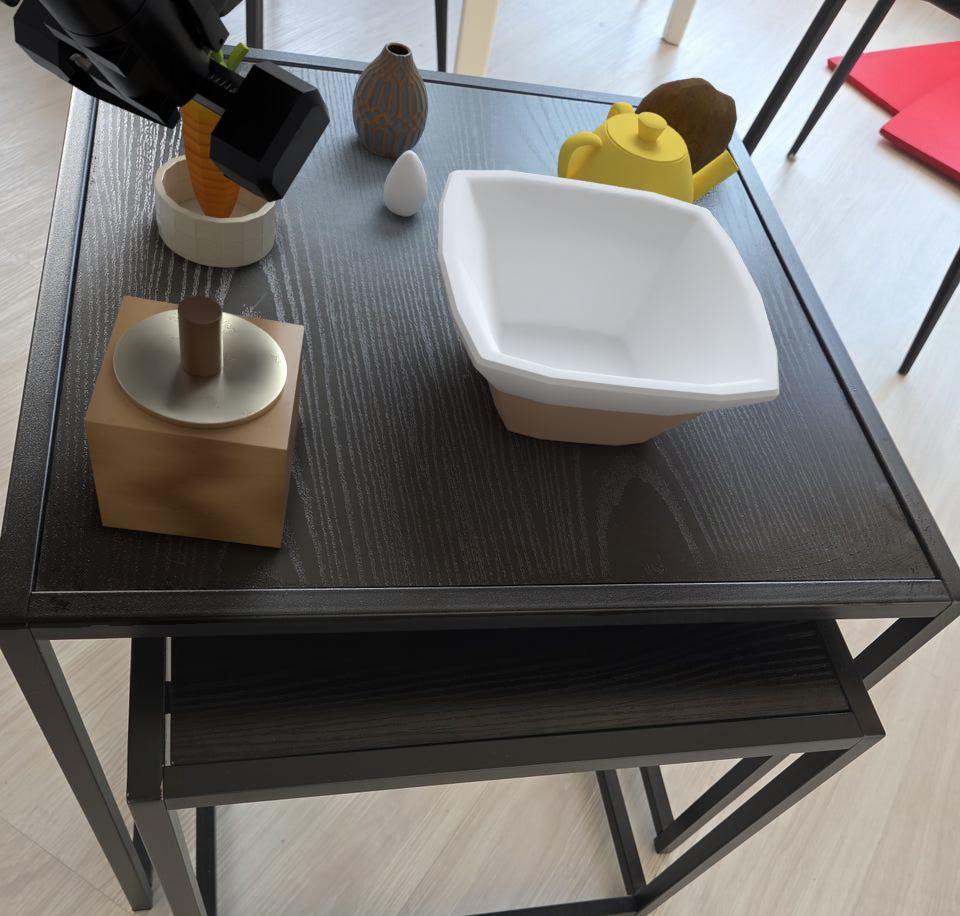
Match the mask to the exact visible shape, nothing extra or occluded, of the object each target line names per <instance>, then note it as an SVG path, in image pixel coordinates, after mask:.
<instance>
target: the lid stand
mask: <svg viewBox="0 0 960 916" xmlns="http://www.w3.org/2000/svg"><path fill="white" fill-rule="evenodd" d="M178 305H179V303H178V304H177V303H171V302H166V301H159V300H154V299H148V298H142V297H136V296H131V295H125V294H124V295H123V297H122V300H121V303H120V306H119V309H118V312H117V316H116V318H115V322H114V325H113V329H112V331H111V335H110V337H109V341H108V344H107V347H106V350H105V353H104V356H103V359H102V363H101V365H100V369H99V372H98V375H97V379H96V381H95V385H94V387H93V391H92V393H91V397H90V400H89V404H88V406H87V410H86V413H85V416H84V419H83V424H84V430H85V436H86V440H87V441H86V442H87V447H88V452H89V458H90V464H91V469H92V474H93V475H92V476H93V479H94V486H95V492H96V496H97V502H98V508H99V509H98V510H99V513H100V520H101V525H102V527H109V528H117V529H122V530H123V529H124V530H131V531H132V530H133V531H140V532H148V533H157V534H165V535H172V536H178V537H179V536H181V537H189V538H197V539H205V540H211V541H212V540H213V541H221V542H230V543H237V544H243V545H244V544H245V545H250V546H251V545H252V546H259V547H268V548H269V547H270V548H276V549H281V547H282V541H283V536H284V535H283V533H284V527H285V519H286V513H287V506H288V499H289V498H288V497H289V491H290V484H291V476H292V469H293V468H292V467H293V463H294V462H293V461H294V455H295V448H296V440H297V434H298V425H299V424H298V422H299V410H300V396H301V382H302V371H303V359H304V358H303V356H304V355H303V354H304V344H305V343H304V340H305V329H306V326H305V325H302V324H296V323H291V322H284V321H278V320H271V319H266V318H261V317H255V316H248V315H242V314H237V313H231V312H225V311H223V312H224V313H228V314H231V315H234V316H237V317H240V318H242V319H245V320H247V321H249V322H250V323H252V324H254V325H256V326H257V327H259V328H260V329H262V330H263V331H264V332H266V333H267V334H268V335H269V336H270V337H271V338H272V339H273V340H274V341H275V342H276V344H277V345H278V346H279V348H280V349H281V351H282V353H283V355H284V358H285V361H286V366H287V380H286V385H285V389H284V391H283V394H282V396H281V397H280V399H279V400H278V401H277V403H276V404H275V405H274V406H273V407H272V408H271V409H270V410H269V411H267V412H266V413H264V414H263V415H261V416H260V417H258V418H256V419H254V420H252V421H249V422H247V423H244V424H240V425H237V426H233V427H227V428H218V429H197V428H188V427H183V426H177V425H174V424H171V423H167V422H164V421H162V420H159V419H157V418H155V417H153V416H151V415H149V414H147V413H145V412H144V411H142V410H141V409H139V408H138V407H137V406H135V405H134V404H133V403H132V402H131V401H130V400H129V399H128V398H127V397H126V396H125V394H124V393H123V392H122V390H121V389H120V387H119V385H118V383H117V380H116V378H115V373H114V367H113V356H114V351H115V348H116V346H117V344H118V342H119V340H120V339H121V337H122V336H123V335H124V334H125V332H126V331H127V330H128V329H130V328H131V327H132V326H133V325H135V324H136V323H138V322H140V321H141V320H143V319H145V318H147V317H150V316H152V315H155V314H158V313H161V312H166V311H170V310H178V309H177V308H178Z"/></svg>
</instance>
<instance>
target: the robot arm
mask: <svg viewBox="0 0 960 916" xmlns="http://www.w3.org/2000/svg"><path fill="white" fill-rule="evenodd" d="M243 1H244V0H0V3H2V4H4V5H5V6H7V7H9V8H15V7H18V8H17V10H16V11H15V13H14V15H12V16H13V17H12V18H13V31H14V42H15V44H16V45H18V47H20V48H21V50H23V52H24V53H25V54H26V55H27V56H28V57H29V58H30V59H31V60H32V61H33V63H36V65H38V66H40V67H41V68H43V69H45V70H47V71H49V72H50V73H52V74H54V75H55V76H56V77H58V78H59V79H60V80H62V81H63V82H65V83H67V84H70V86H72V87H74V88H76V89H77V90H79V91H81V92H82V93H84V94H85V95H87V96H89V97H91V98H92V97H93V98H94V99H97V100H100V101H102V102H104V103H106V104H109V105H111V106H114V107H116V108H118V109H121V110H123V111H126V112H129V113H131V114H133V115H135V116H138V117H140V118H143V119H145V120H147V121H150V122H152V123H154V124H156V125H159V126H162V127H164V128H167V129H169V130H174V129H175V128H176V126H177V125H178V123H179V121H180V120H181V118H182V114H181V112H180V111H179V109H178V108H181V107H183V106H184V105H186V104H187V103H188V102H189V101H191V100H193V101H195V102H197V103H198V104H200V105H202V106H203V107H205V108H207V109H209V110H210V111H212V112H214V113H215V114H217V115H219V116H221V118H220V120H219V121H218V123H217V125H216V126H215V128H214V129H213V131H212V133H211V138H210V154H209V158H210V159H211V160H212V162H213V163H214V164H215V165H216V167H217V168H218V169H220V170H221V171H222V172H223V173H224V174H223V175H224V177H226V178H228V179H229V180H231V181H233V182H234V183H236V184H238V185H239V186H241V187H243V188H244V189H246V190H248V191H249V192H251V193H253V194H254V195H256V196H259V197H261V198H262V199H264V200H266V201H267V202H269V203H270V202H273V201H277V202H278V201H280V200H282V199H284V197H285V196H286V194H287V192H288V191H289V189H290V187H291V185H292V184H293V183H294V181H295V180H296V178H297V176H298V175H299V173H300V172H301V170H302V168H303V167H304V165H305V163H306V162H307V160H308V158H309V156H310V155H311V154H312V152H313V151H314V149H315V147H316V145H317V143H318V142H319V141H320V139H321V138H322V135H323V134H324V132H325V131H326V129H327V128H328V126H329V124H330V122H331V117H330V112H329V108H328V106H327V104H326V101H325V100H324V99H323V96H322V95H321V92H320V91H319V89H318V87H317V86H314V85H313V84H311V83H309V82H308V81H305V79H303V78H300V77H299V76H297V75H295V74H293V73H292V72H290V71H288V70H287V69H284V68H283V67H281V66H280V65H277V64H276V63H274V62H272V61H271V60H264V61H261V62H256V63H252V66H251V68H250V69H249V70H248V72H247V73H246V76H245V77H244V76H242V75H241V74H239V73H237V72H236V71H235V72H234V71H232V70H230V69H228V68H227V67H225V66H223V65H222V64H220V63H218V62H216V61H215V60H214V58H212V57H211V58H212V59H211V58H209V57H208V54H209V53H210V54H211V52H212V51H214V52H216V53H218V52H219V51H220V50H222V48H223V46H224V45H225V43H226V41H228V38H229V37H230V35H231V34H230V32H229V30H228V29H227V27H226V26H225V24H224V23H223V21H222V19H221V18H224V17H226V16H228V14H230V13H231V12H232V11H233V10H234V9H235V8H237V6H239V4H241V3H242V2H243ZM20 2H21V3H20ZM19 4H20V5H19ZM211 50H212V51H211ZM208 78H209V79H208ZM219 84H220V85H219Z"/></svg>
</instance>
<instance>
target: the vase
mask: <svg viewBox="0 0 960 916" xmlns="http://www.w3.org/2000/svg"><path fill="white" fill-rule="evenodd" d="M351 113H352V122H353V126H354V129H355V133H356V134H357V136H358V139H359V140H360V141H361V143H362V144H363V145H364V147H365V148H366V149H367V150H368V151H369V152H371V153H373V154H375V155H377V156H379V157H383V158H388V159H389V158H390V159H392V158H399V157H400V156H401V155H402V154H403V153H404V152H406V151H409V150H410V151H412V150H413V149H414V148H415V147H416V146H417V144H418V143H419V142H420V139H421V138H422V136H423V134H424V131H425V129H426V125H427V120H428V115H429V114H428V113H429V97H428V92H427V87H426V84H425V82H424V79H423V76H422V75H421V73H420V71H419V69H418V67H417V64H416V63H415V60H414V56H413V52H412V49H411V48H410V47H409V46H407V45H405V44H403V43H401V42H398V41H397V42H396V41H392V42H388V43H386V44H384V46H383V48H382V49H381V52H379V54H378V55H377V56H376V57H375V58H374V59H373V60H372V61H370V62H369V64H367V65H366V66H365V68H364V69H363V71H362V72H361V73H360V75H359V77H358V79H357V82H356V85H355V86H354V91H353V94H352V105H351Z"/></svg>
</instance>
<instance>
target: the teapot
mask: <svg viewBox="0 0 960 916" xmlns="http://www.w3.org/2000/svg"><path fill="white" fill-rule="evenodd" d="M739 170H740V169H739V167H738V166H737V164H736V162H735V160H734V158H733V157H732V155H731V154H730V152H729V151H728V150H727V149H726V150H725V152H724V153H722V154H721V155H720V156H718V157H717V158H716V159H714V160H713V161H712V162H710V163H709V164H708V165H706V166H705V167H704V168H702V169H701V170H700V171H698V172H697V173H695V174H692V169H691V163H690V157H689V153H688V150H687V146H686V144H685V142H684V140H683V139H682V137H681V136H680V135H679V134H678V133H677V132H676V131H675V130H674V129H672V128H671V127H670V126H668V125H667V122H666V121H665V120H664V119H663V118H662V117H661V116H659V115H657V114H655V113H651V112H643V113H640V114H635V108H634V106H633V105H632V104H630V103H628V102H626V101H617V102H615V103H613V104H612V105H611V107H610V108H609V111H608V113H607V115H606V119H605V121H603V122H602V123H600V125H598V126H597V127H596V128H595V129H594V130H592V131H586V130H585V131H584V130H583V131H579V132H576V133H573V134H572V135H570V136H569V137H567V138H566V139H565V140H564V141H563V143H562V145H561V147H560V149H559V152H558V157H557V176H556V177H560V178H566V179H573V180H580V181H587V182H593V183H599V184H605V185H611V186H617V187H623V188H629V189H635V190H642V191H648V192H654V193H657V194H660V195H664V196H667V197H670V198H674V199H677V200H681V201H684V202H687V203H691V204H694V203H696V202H697V201H698V200H700V199H701V198H703V197H704V196H705V195H707V194H708V193H709V192H711V191H712V190H713V189H715V188H716V187H718V186H719V185H720V184H722V183H723V182H724V181H726V180H727V179H729V178H730V177H731V176H732V175H734V174H735V173H737V172H739Z"/></svg>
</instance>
